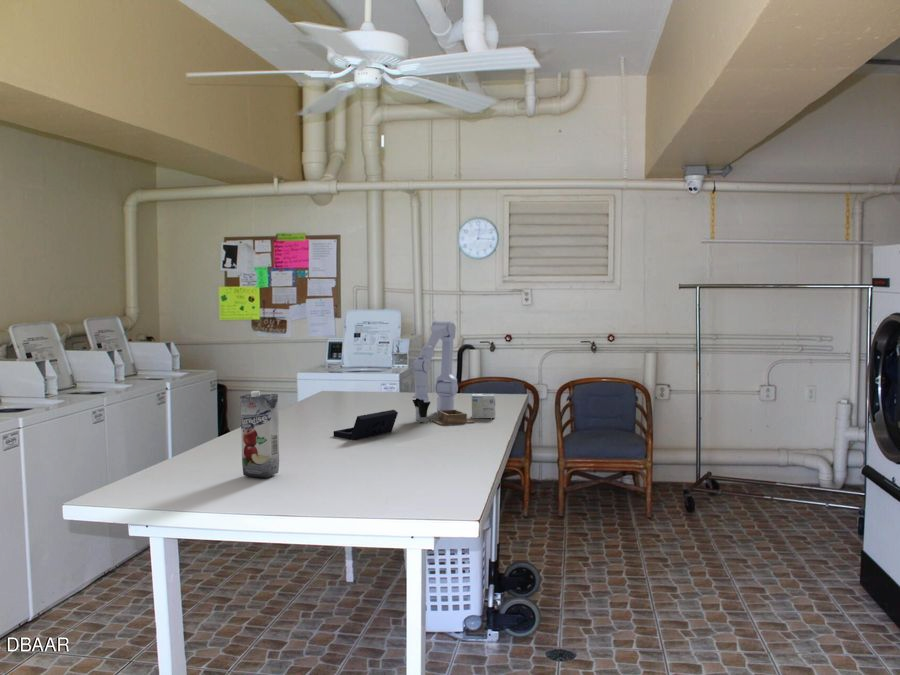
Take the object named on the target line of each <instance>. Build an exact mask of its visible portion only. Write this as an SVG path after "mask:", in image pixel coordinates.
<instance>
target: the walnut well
mask: <svg viewBox="0 0 900 675" xmlns="http://www.w3.org/2000/svg"><path fill="white" fill-rule="evenodd" d="M431 420H432V421H431ZM429 421H431V422H433V421H434V422H433V423H435V422H436V423H435V424H436V425H439V426H449V425H448V424H453V425H461V424H460V423H467V424H474V423H473V422H475V421H474V420H473V419H469V418H468V414H467V413H466V412H464V411H460V410H458V409H454V410H441V411H438V414H437V418H430V419H429Z"/></svg>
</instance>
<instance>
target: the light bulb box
mask: <svg viewBox="0 0 900 675" xmlns="http://www.w3.org/2000/svg"><path fill="white" fill-rule="evenodd" d="M472 418H491V419H490V420H493V419H492V418H496V393H472V395H471V419H472Z"/></svg>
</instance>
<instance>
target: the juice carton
mask: <svg viewBox="0 0 900 675" xmlns="http://www.w3.org/2000/svg"><path fill="white" fill-rule="evenodd" d="M239 398H240V422H241V424H240V430H241V431H240V432H241V433H240V434H241V464H242V473H243V476H244V477H254V478H255V477H256V478H264V479H266V478H268V477H272V476H273V475H277V474H278V473H279V468H280V436H279V435H280V434H279V428H280V427H279V394H277V393H269V394H268V393H261V391H260V390H252V391H250V393H247V394H244V395H240V397H239Z"/></svg>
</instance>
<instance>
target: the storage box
mask: <svg viewBox="0 0 900 675" xmlns="http://www.w3.org/2000/svg"><path fill="white" fill-rule="evenodd" d="M398 414H399V412H398V411H397V410H395V409H391V410H384V411H379V412H373V413H368V414H362V415H357V416H356V419H355V422H354V424H353V425H354V426H353V427H348V428H342V429H339V430H334V431H333V437H334V438H341V439H346V440H348V441H349V440H352V441H359V440H362V439H363V440H364V439H368V438H372V437H376V436H380V435H386V434H390V433H392V431H393V429H394V426H395V423H396V420H397V417H398Z"/></svg>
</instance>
